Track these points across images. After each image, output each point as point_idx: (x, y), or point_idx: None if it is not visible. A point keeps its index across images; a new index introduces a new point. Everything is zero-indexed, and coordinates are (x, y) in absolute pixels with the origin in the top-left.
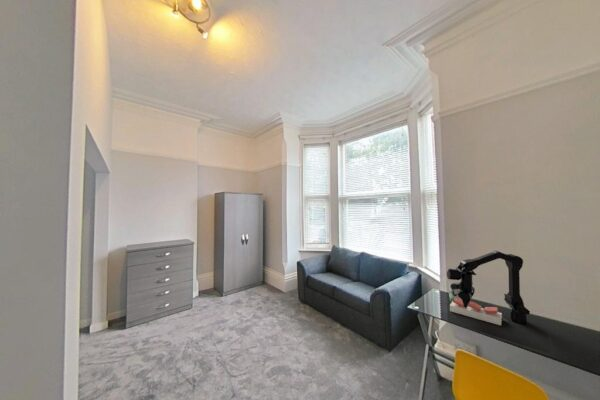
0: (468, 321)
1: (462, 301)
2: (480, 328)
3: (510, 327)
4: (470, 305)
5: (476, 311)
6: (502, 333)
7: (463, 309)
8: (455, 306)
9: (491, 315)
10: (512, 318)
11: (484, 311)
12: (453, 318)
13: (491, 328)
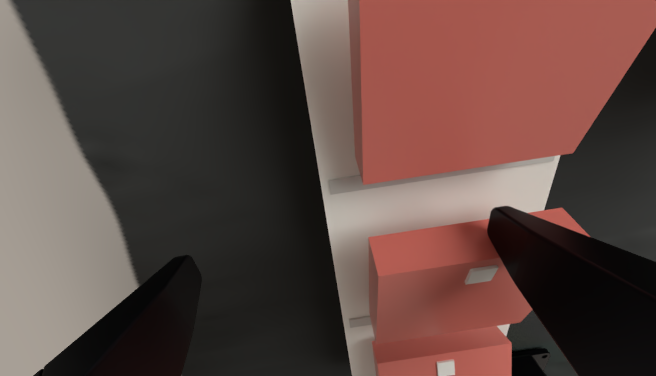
0: (184, 209)
1: (551, 109)
2: None
3: None
4: (375, 284)
5: (358, 283)
6: (225, 370)
7: (316, 154)
8: (300, 18)
9: (366, 367)
10: None
11: (374, 355)
12: (68, 72)
13: (236, 330)
